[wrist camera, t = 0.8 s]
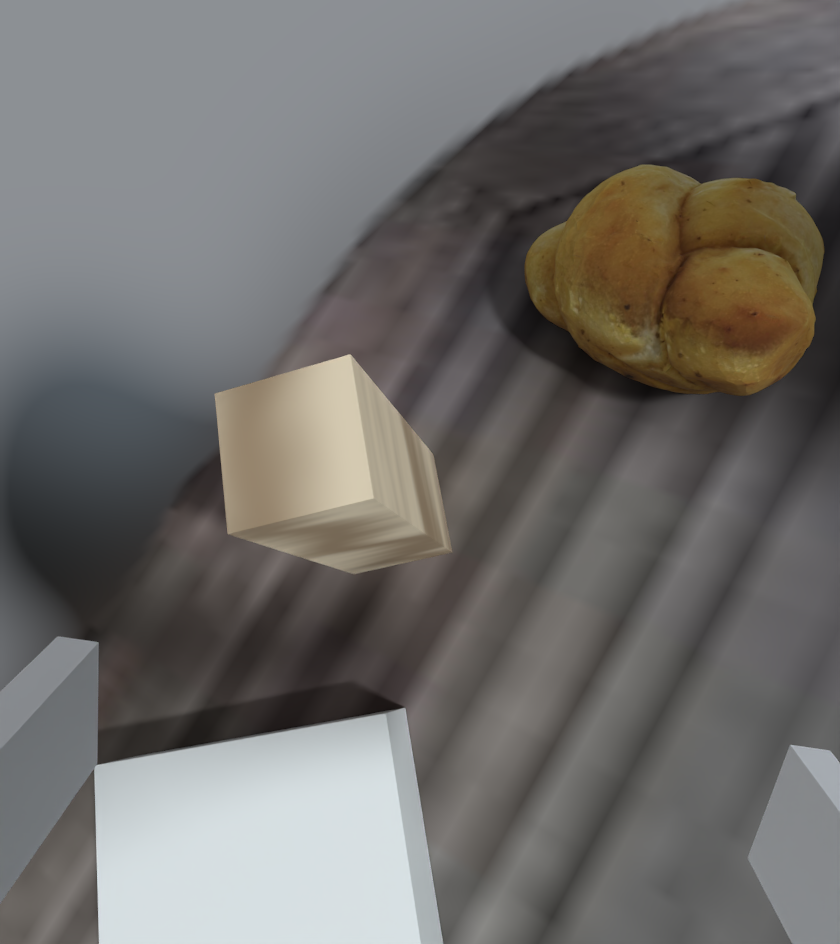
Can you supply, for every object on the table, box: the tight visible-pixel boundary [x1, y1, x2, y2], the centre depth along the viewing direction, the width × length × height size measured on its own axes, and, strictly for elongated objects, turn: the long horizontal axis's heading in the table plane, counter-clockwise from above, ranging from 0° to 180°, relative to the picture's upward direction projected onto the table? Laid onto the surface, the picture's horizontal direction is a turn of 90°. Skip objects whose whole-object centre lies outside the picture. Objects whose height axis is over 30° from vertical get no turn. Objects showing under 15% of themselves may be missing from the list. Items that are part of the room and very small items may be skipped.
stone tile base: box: [94, 708, 443, 944], centre depth 28 cm, size 14×14×3 cm
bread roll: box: [525, 165, 825, 396], centre depth 29 cm, size 13×10×8 cm
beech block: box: [215, 354, 452, 574], centre depth 27 cm, size 5×5×12 cm
